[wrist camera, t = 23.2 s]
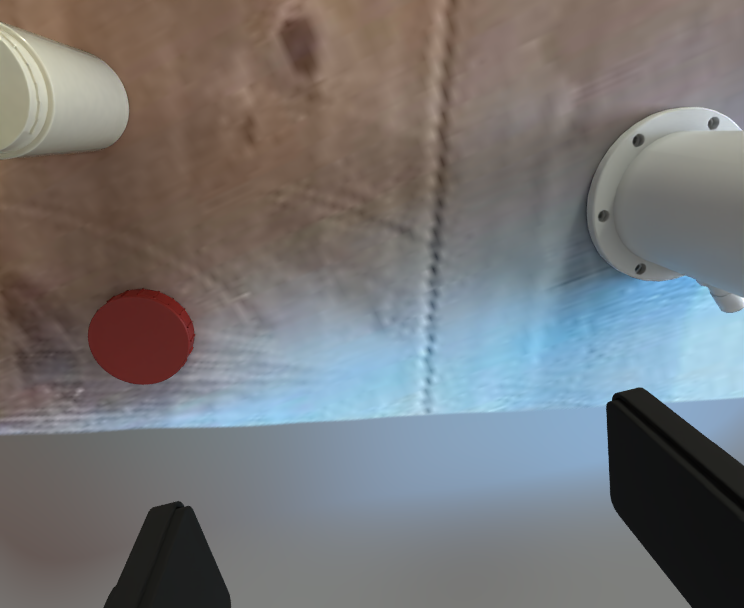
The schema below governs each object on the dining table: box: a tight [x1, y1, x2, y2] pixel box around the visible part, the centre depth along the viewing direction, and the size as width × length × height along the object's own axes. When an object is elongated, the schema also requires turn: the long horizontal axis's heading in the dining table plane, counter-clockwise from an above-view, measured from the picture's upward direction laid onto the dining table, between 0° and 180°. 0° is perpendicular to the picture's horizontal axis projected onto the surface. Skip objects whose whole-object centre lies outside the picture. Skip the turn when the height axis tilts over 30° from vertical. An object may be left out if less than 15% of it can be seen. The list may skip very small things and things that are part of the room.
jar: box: [0, 21, 129, 160], centre depth 25 cm, size 6×6×11 cm
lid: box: [88, 288, 195, 385], centre depth 35 cm, size 7×7×2 cm
